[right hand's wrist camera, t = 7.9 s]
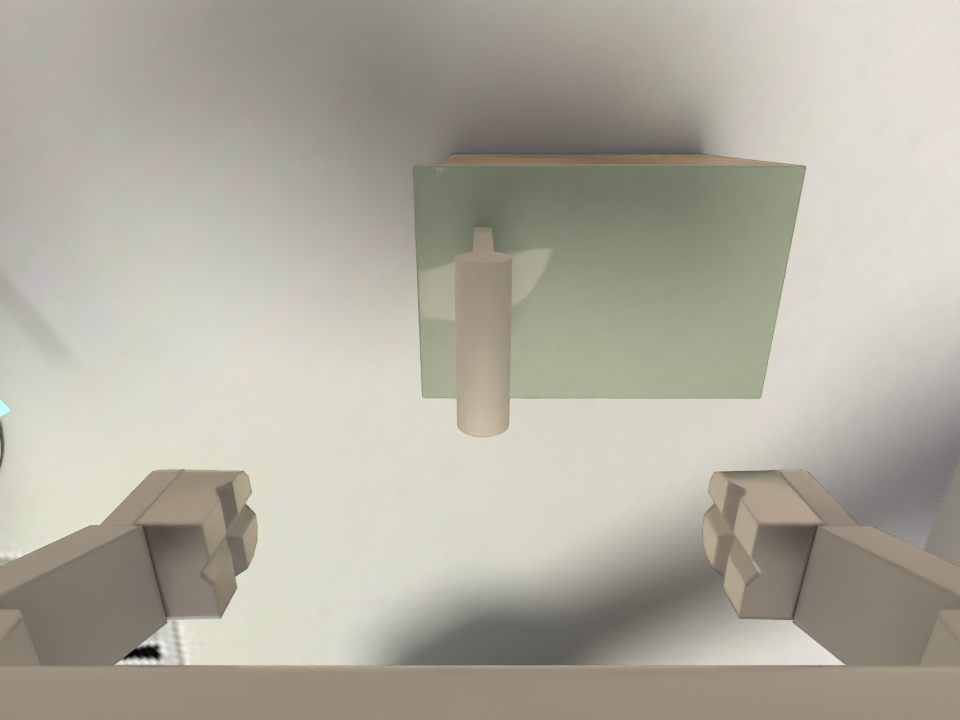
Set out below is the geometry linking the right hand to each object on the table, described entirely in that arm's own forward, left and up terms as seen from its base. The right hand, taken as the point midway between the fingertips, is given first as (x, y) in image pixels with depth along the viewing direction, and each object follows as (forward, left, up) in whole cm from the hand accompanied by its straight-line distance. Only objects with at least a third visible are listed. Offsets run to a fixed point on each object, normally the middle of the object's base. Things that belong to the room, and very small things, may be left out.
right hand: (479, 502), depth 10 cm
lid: (+3, +4, -16) cm, 17 cm away
